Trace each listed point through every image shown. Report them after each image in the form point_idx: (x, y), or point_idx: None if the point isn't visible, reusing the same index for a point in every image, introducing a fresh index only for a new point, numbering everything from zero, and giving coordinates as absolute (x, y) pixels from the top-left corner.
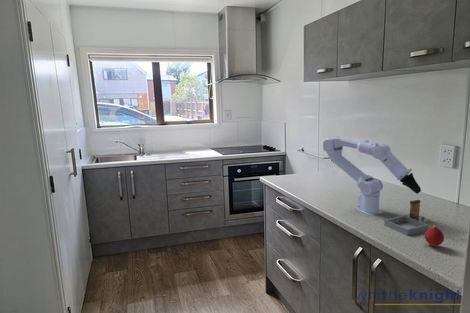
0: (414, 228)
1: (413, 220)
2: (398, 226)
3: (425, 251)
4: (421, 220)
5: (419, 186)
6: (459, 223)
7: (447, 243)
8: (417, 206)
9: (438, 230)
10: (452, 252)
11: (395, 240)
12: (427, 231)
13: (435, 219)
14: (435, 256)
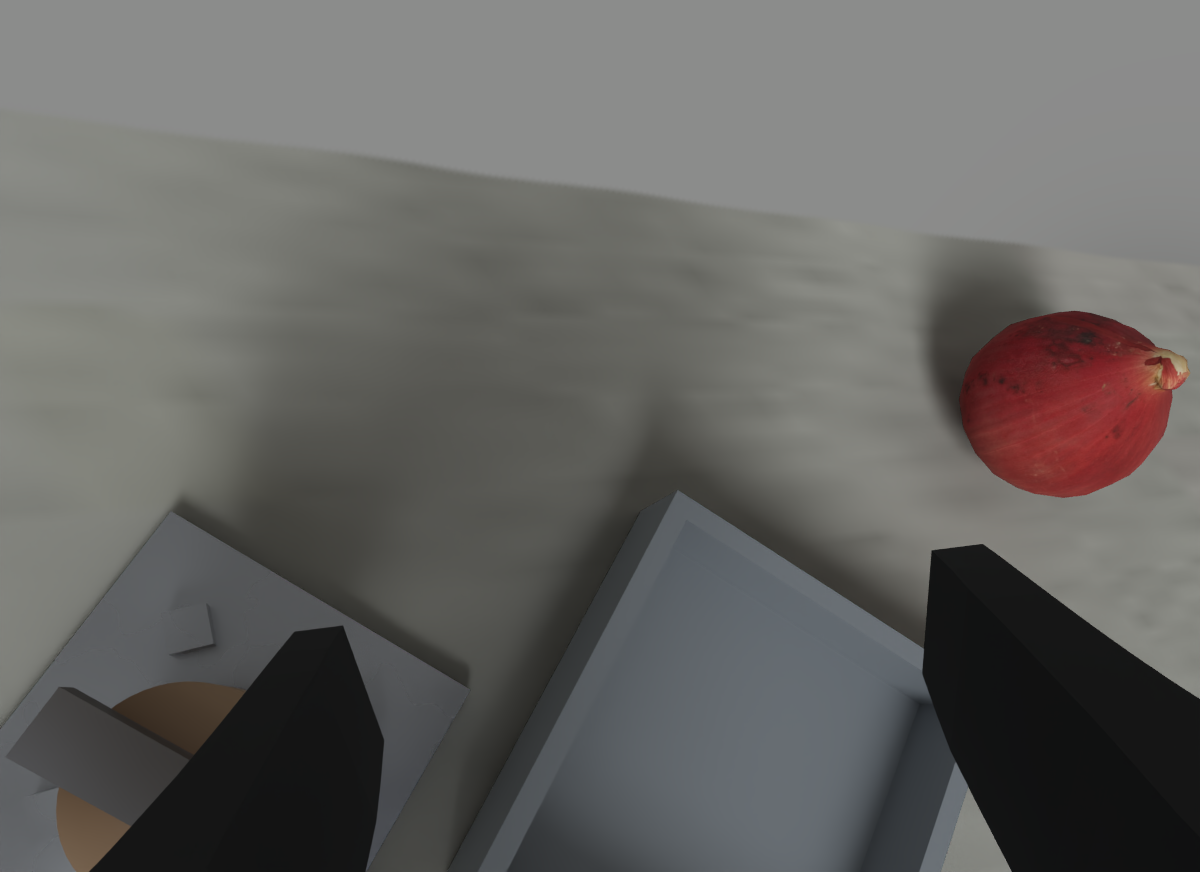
0: (896, 633)
1: (586, 709)
2: (945, 836)
3: (1113, 488)
4: (277, 637)
5: (1034, 585)
6: (63, 165)
7: (832, 323)
8: None
9: (1143, 337)
10: (988, 292)
11: None
12: (1148, 451)
13: (28, 461)
14: None
